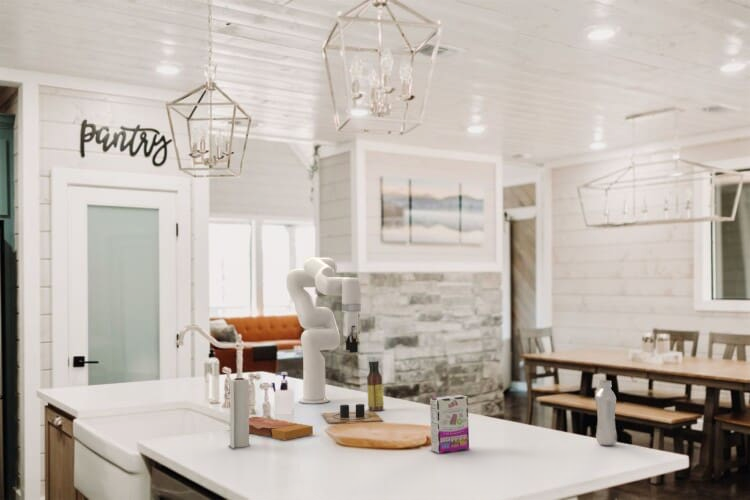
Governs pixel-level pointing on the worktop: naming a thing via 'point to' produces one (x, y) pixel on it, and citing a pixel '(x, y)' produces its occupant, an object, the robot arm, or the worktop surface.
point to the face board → (352, 417)
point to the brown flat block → (278, 428)
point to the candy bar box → (449, 423)
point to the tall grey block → (239, 412)
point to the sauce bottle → (374, 387)
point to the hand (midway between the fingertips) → (351, 351)
